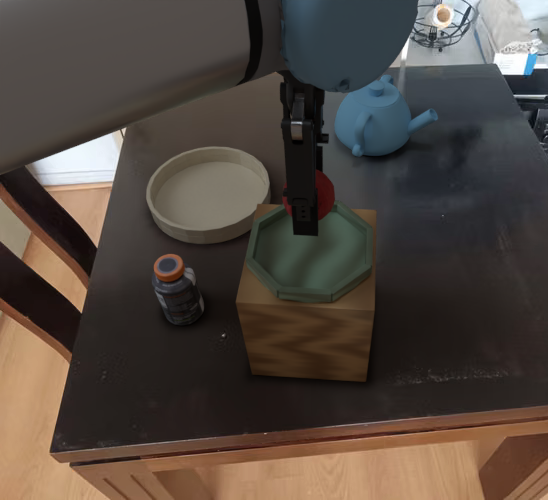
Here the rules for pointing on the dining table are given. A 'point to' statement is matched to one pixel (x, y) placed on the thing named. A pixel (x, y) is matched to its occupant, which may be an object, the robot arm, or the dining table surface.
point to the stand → (309, 295)
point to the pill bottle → (177, 290)
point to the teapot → (377, 119)
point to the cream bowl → (208, 194)
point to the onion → (319, 195)
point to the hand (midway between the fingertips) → (308, 211)
